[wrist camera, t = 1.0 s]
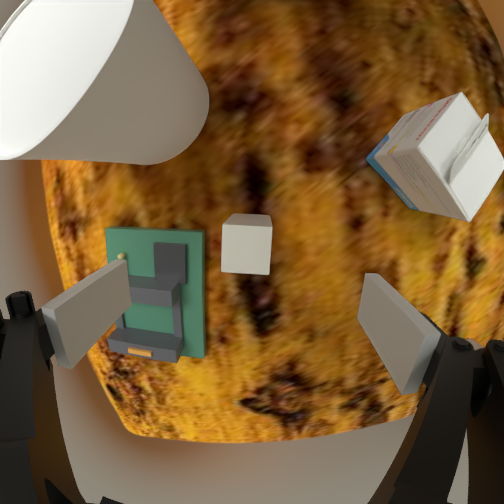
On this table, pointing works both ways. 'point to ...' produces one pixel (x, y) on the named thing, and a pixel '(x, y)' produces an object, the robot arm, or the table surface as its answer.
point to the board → (146, 267)
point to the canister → (96, 84)
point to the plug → (246, 244)
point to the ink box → (440, 158)
